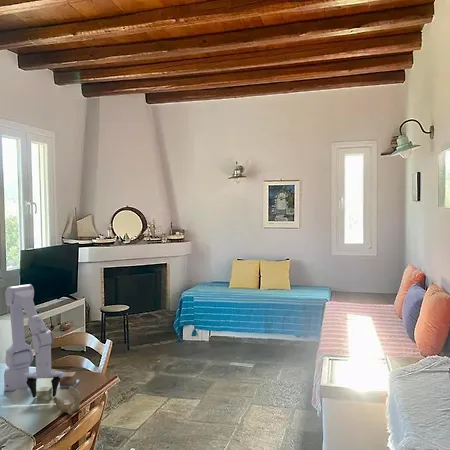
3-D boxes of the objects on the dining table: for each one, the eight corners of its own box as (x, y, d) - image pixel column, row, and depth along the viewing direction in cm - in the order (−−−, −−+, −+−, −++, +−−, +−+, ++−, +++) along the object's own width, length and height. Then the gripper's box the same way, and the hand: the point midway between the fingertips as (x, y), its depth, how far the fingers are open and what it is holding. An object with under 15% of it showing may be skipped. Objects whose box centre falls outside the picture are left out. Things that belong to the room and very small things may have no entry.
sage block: (36, 402, 177) (36, 391, 177) (40, 398, 182) (40, 386, 182) (48, 402, 178) (48, 390, 178) (52, 397, 182) (51, 386, 182)
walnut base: (59, 386, 192) (59, 376, 192) (63, 381, 198) (63, 372, 198) (72, 385, 193) (72, 376, 192) (76, 380, 198) (75, 371, 198)
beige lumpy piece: (54, 415, 162) (56, 386, 167) (55, 417, 167) (57, 389, 172) (79, 413, 164) (81, 384, 169) (79, 416, 170) (81, 388, 175)
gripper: (20, 366, 175) (21, 401, 175) (59, 364, 176) (60, 399, 176) (27, 360, 182) (28, 394, 182) (64, 359, 183) (65, 392, 183)
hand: (44, 396), depth 180 cm, fingers open, 7 cm apart
